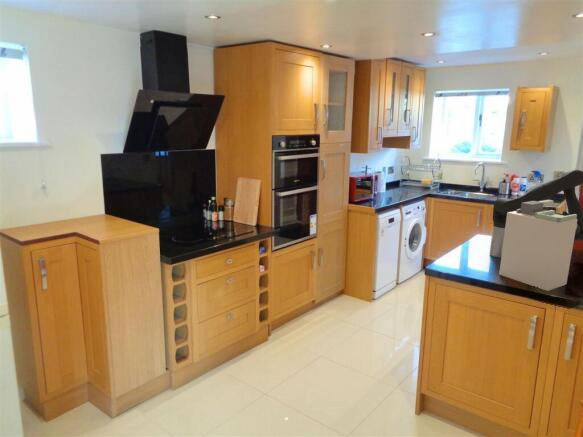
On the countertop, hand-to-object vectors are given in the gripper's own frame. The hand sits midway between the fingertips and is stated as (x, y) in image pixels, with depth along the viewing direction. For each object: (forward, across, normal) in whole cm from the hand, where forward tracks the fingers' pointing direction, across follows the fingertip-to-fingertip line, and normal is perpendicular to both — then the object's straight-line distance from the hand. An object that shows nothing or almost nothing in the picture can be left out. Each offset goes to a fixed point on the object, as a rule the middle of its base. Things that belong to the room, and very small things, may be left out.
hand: (554, 210), depth 216 cm
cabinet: (+5, +6, +38) cm, 39 cm away
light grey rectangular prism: (+14, 0, +7) cm, 16 cm away
